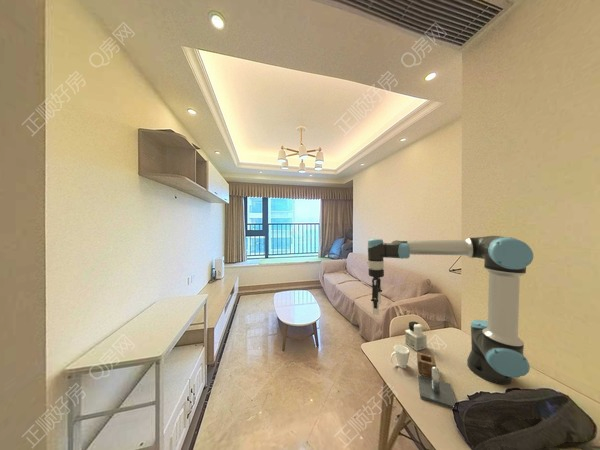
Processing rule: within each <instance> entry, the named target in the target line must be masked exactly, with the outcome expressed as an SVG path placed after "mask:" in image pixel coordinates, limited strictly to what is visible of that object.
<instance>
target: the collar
mask: <svg viewBox="0 0 600 450" xmlns="http://www.w3.org/2000/svg"><path fill="white" fill-rule="evenodd" d="M416 357H417V358H416V360H417V361H416V363H417V371H418V375H421V376H425V377H428V376H429V377H428V378H432V367H437V363H436V359H435V356H434V355H431V354H427V353H422V352H418V351H417V352H416Z"/></svg>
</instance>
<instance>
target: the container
mask: <svg viewBox="0 0 600 450" xmlns="http://www.w3.org/2000/svg"><path fill="white" fill-rule="evenodd" d="M404 333H405V334H404V335H405V337H404V339H405V344H406V345H407V344H408V346H409V347H410V346H411V348H412V349H413V348H414V349H413V350H415V351H417V352H418V351H421V350H425V349H427V347H428V346H427V345H428V343H427V342H428V341H427V334H426V333H424V332H423V325H422V324H421V323H419V322H417V321H409V322H408V329H405V331H404ZM424 348H425V349H424Z"/></svg>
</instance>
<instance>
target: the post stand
mask: <svg viewBox="0 0 600 450" xmlns="http://www.w3.org/2000/svg"><path fill="white" fill-rule="evenodd" d="M417 380H418V388H419V398H420V399H421V400H424V401H426V402H431V403H433V404H436V405H439V406H441V407H442V406H443V407H445V408H449V409H451V410H453V409H452V408H453V406H454V404H455V403H457V401H456V398H455V394H454V392H453V389H452V385H451V383H448V382H445V381H442V380H440V370H439V368H438V367H437V366H436V367H432V377H428V376H425V375H421V374H417Z"/></svg>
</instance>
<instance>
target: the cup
mask: <svg viewBox="0 0 600 450" xmlns="http://www.w3.org/2000/svg"><path fill="white" fill-rule="evenodd" d="M393 350H394V351H393V352H392V353H391V354H390V357H389V358H390V359H389V360H390V362H391V364H393V365H394V366H395V367H400V368H402V369H406V368H407V367H408V363H409V356H410V350H409V348H408V347H407V346H405V345H403V344H395V345H394V346H393ZM394 355H395V360H396V364H395V363H394V362H393V356H394Z"/></svg>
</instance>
